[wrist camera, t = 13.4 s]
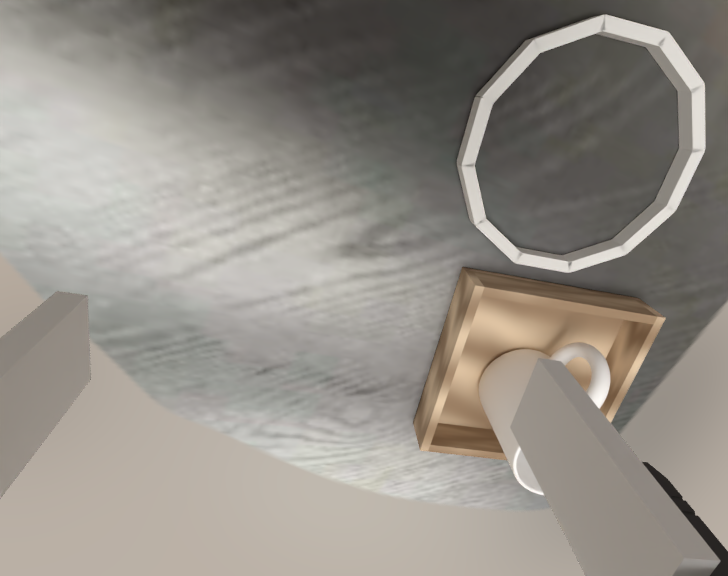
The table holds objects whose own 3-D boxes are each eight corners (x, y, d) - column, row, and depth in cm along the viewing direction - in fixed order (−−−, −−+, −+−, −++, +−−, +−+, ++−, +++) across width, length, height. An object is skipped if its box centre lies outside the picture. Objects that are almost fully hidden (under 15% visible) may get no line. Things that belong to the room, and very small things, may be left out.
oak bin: (462, 266, 42) (475, 285, 39) (638, 298, 45) (665, 318, 41) (413, 422, 49) (420, 450, 46) (568, 441, 52) (586, 469, 48)
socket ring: (504, -8, 34) (512, -12, 32) (734, 55, 37) (751, 54, 35) (433, 242, 41) (437, 249, 40) (629, 278, 44) (639, 285, 43)
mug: (538, 301, 44) (597, 364, 34) (601, 340, 46) (671, 409, 37) (459, 394, 47) (492, 473, 38) (521, 426, 50) (566, 508, 40)
